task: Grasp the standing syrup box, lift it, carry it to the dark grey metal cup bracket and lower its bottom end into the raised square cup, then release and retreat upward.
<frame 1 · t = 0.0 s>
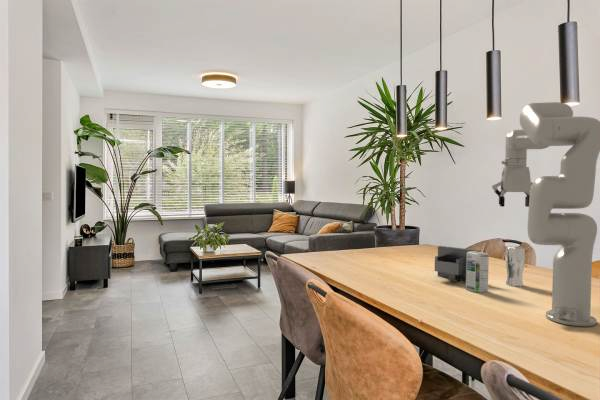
hand: (514, 206, 165), 31 cm above the table, tool pointing down, fingers open, 9 cm apart
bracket: (452, 280, 172), on the table
syrup box: (476, 291, 156), on the table
beer glass: (514, 285, 165), on the table
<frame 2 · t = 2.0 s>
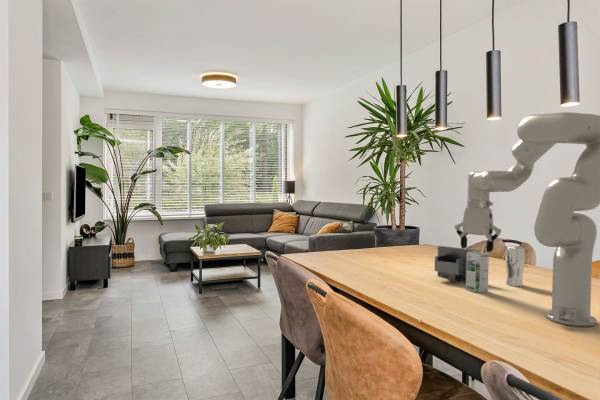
hand: (476, 249, 156), 15 cm above the table, tool pointing down, fingers open, 9 cm apart
nothing on the table moved.
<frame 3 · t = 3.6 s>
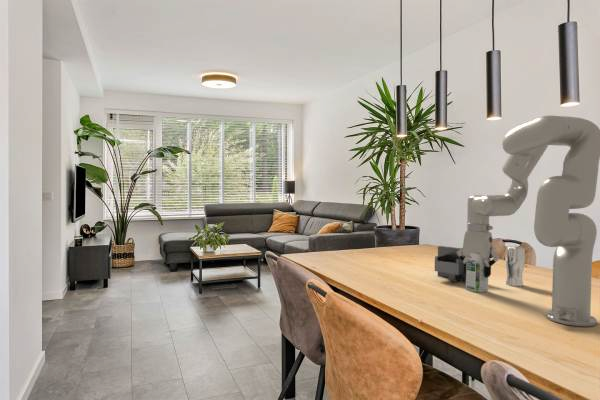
hand: (477, 274, 156), 6 cm above the table, tool pointing down, fingers closed on syrup box, 6 cm apart
syrup box: (476, 290, 156), on the table, touching gripper
everything else where it was.
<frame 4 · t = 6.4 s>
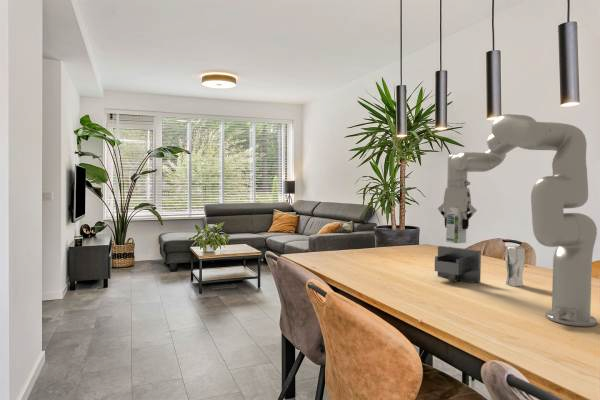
hand: (456, 227, 169), 22 cm above the table, tool pointing down, fingers closed on syrup box, 6 cm apart
syrup box: (456, 242, 169), point 16 cm above the table, touching gripper
everything else where it was.
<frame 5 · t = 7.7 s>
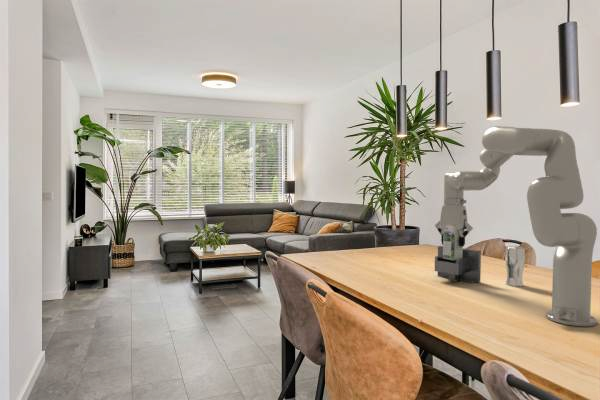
hand: (452, 245, 171), 15 cm above the table, tool pointing down, fingers closed on syrup box, 6 cm apart
syrup box: (452, 259, 171), point 9 cm above the table, touching gripper
everything else where it was.
when the fingers open (12 cm above the table, at t = 9.1 s): syrup box drops 1 cm, resting on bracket.
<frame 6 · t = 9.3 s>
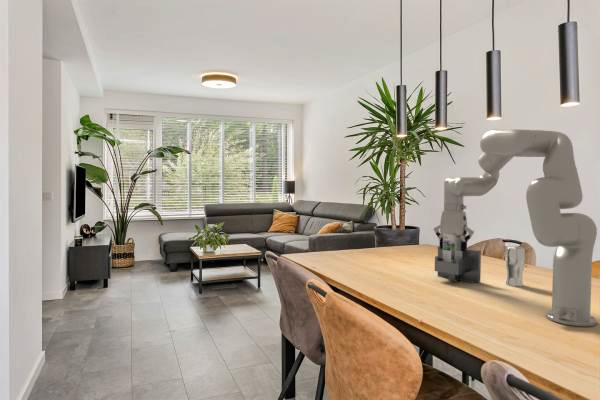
hand: (452, 249, 171), 13 cm above the table, tool pointing down, fingers open, 8 cm apart
syrup box: (452, 268, 172), point 5 cm above the table, touching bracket
everything else where it was.
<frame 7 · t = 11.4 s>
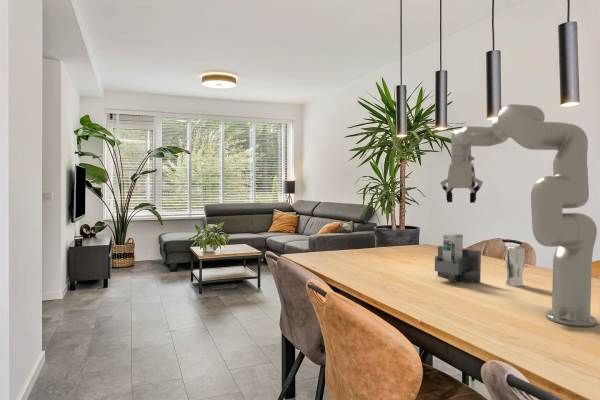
hand: (460, 202, 168), 33 cm above the table, tool pointing down, fingers open, 9 cm apart
nothing on the table moved.
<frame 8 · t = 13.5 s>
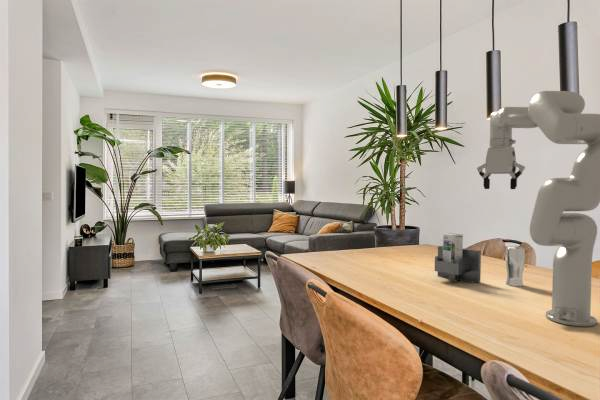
hand: (499, 189, 158), 38 cm above the table, tool pointing down, fingers open, 9 cm apart
nothing on the table moved.
at the end: syrup box 0.1 cm off-centre on the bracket, point 5.0 cm above the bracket's base; syrup box tilted 0°; the gripper is holding nothing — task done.
